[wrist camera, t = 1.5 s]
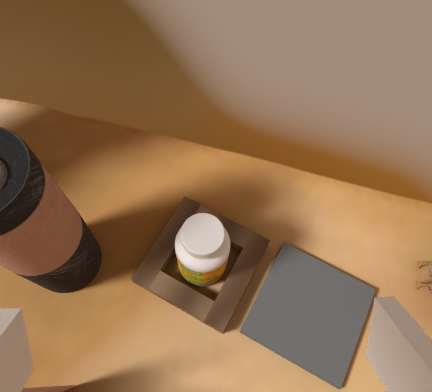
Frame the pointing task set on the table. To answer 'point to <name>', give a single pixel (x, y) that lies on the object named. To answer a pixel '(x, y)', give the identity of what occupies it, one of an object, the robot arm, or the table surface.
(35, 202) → the travel mug
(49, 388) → the greeting card
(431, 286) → the pink patterned figure
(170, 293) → the brown flat square frame
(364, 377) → the table surface
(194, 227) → the supplement bottle
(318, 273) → the slate pad
